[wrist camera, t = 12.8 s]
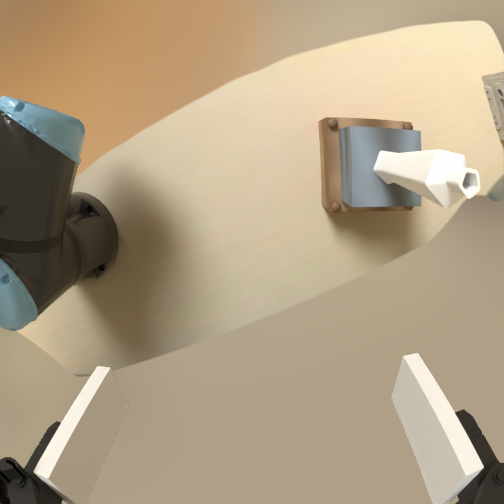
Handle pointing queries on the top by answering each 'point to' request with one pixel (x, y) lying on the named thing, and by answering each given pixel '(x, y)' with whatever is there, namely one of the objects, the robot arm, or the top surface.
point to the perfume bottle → (429, 174)
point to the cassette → (496, 99)
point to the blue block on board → (363, 164)
